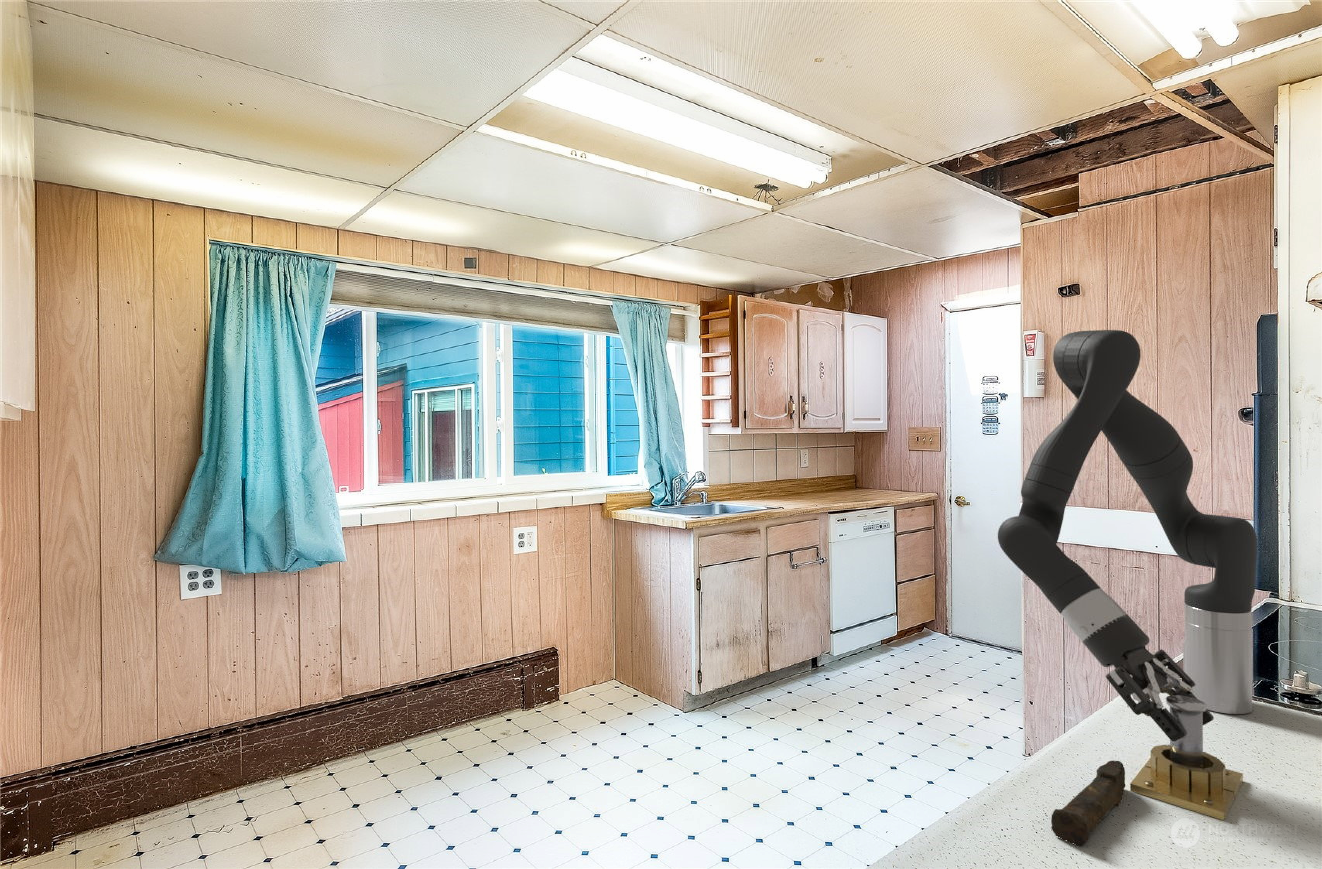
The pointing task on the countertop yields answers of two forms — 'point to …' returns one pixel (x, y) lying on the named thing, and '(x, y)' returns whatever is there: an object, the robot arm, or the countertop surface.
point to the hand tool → (1090, 804)
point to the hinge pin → (1187, 730)
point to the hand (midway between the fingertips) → (1194, 730)
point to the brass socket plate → (1188, 783)
